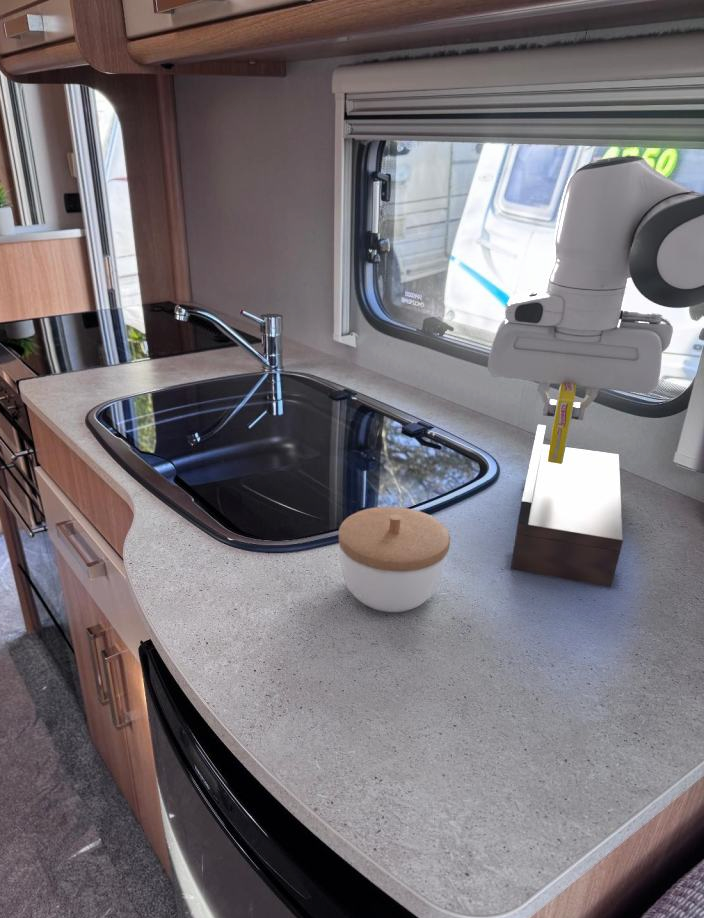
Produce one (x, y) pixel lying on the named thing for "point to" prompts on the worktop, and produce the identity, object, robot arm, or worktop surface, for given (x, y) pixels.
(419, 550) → the lidded bowl
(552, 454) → the candy box
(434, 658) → the worktop surface
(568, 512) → the box with raised back
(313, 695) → the worktop surface
